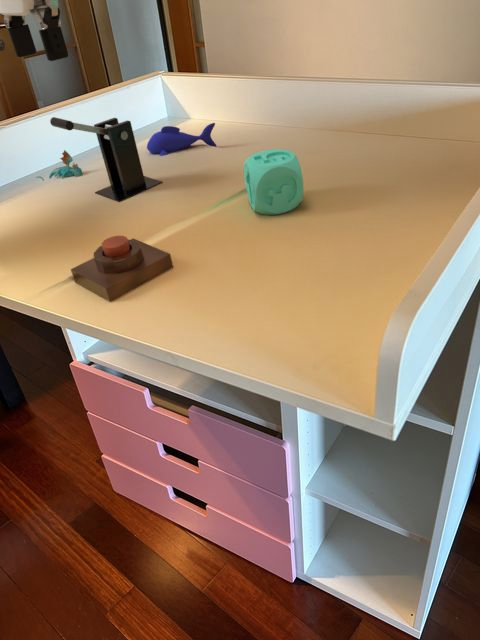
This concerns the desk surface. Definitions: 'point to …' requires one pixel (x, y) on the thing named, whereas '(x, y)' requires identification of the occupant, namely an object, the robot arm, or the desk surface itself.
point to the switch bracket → (122, 162)
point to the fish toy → (176, 140)
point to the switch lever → (79, 126)
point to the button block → (121, 270)
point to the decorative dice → (273, 181)
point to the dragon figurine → (66, 168)
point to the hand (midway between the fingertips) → (42, 57)
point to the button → (115, 246)
